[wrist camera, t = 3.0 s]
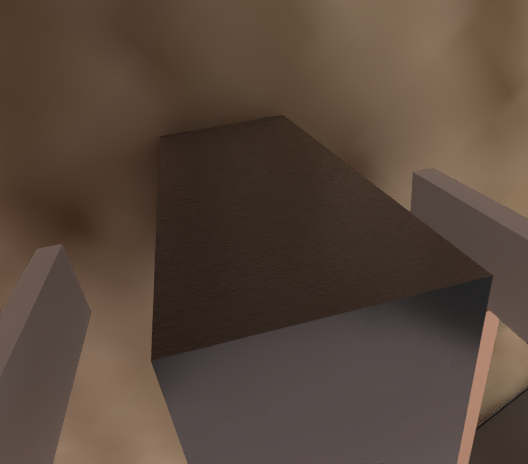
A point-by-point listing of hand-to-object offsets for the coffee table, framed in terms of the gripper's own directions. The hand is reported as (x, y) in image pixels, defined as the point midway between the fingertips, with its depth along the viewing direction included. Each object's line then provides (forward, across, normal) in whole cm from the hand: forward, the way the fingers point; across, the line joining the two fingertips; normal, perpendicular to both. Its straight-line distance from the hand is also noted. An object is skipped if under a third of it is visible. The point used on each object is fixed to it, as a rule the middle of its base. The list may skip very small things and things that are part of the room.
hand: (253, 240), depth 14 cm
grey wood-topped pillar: (+4, 0, 0) cm, 4 cm away
